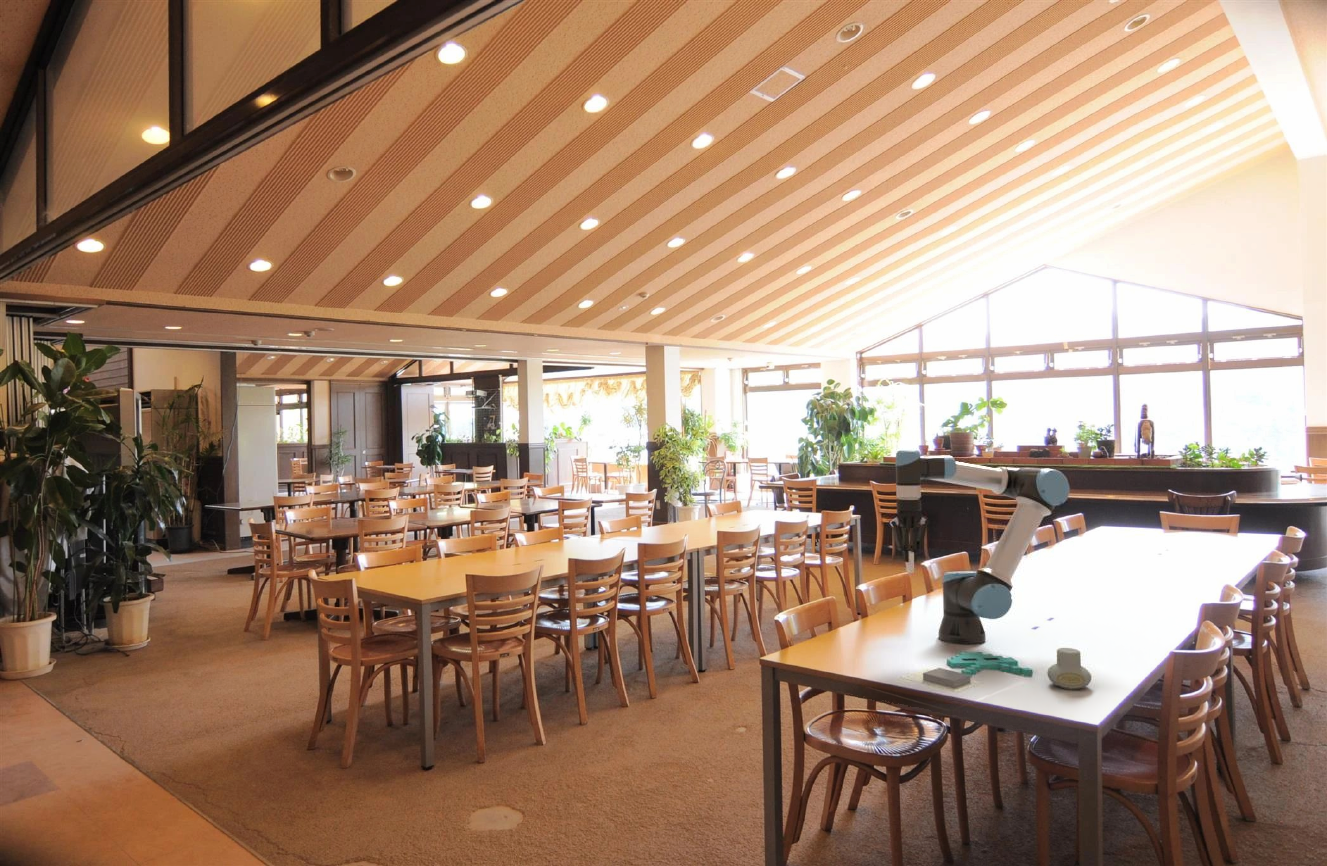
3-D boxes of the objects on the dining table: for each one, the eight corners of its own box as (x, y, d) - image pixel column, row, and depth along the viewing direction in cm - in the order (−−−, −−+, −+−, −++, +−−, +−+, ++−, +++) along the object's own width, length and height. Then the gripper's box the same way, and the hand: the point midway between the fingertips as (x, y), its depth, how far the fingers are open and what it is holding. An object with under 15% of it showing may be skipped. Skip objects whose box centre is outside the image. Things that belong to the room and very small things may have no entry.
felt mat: (901, 678, 237) (901, 677, 237) (927, 670, 245) (927, 668, 245) (956, 693, 223) (956, 692, 223) (983, 684, 231) (983, 682, 231)
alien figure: (1032, 677, 237) (1001, 658, 257) (1032, 669, 237) (1001, 651, 257) (964, 679, 237) (938, 660, 257) (964, 671, 237) (938, 653, 257)
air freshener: (1048, 688, 225) (1048, 652, 225) (1046, 680, 233) (1045, 645, 233) (1093, 692, 221) (1092, 655, 221) (1089, 683, 229) (1088, 648, 229)
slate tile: (922, 673, 234) (954, 680, 226) (939, 667, 239) (970, 675, 231) (923, 680, 234) (954, 688, 226) (939, 674, 239) (970, 682, 231)
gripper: (922, 496, 267) (924, 569, 267) (884, 498, 265) (885, 571, 265) (933, 498, 259) (934, 573, 259) (894, 500, 257) (895, 575, 257)
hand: (910, 572), depth 262 cm, fingers closed
